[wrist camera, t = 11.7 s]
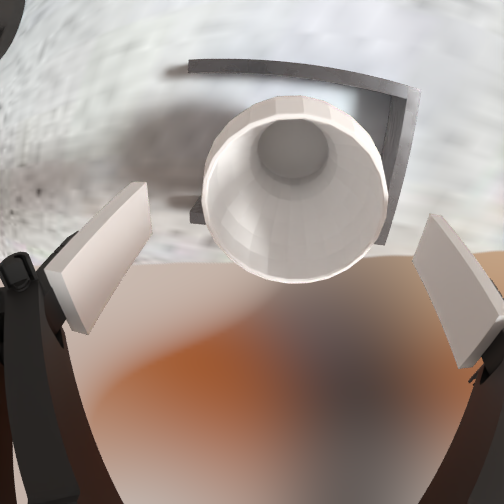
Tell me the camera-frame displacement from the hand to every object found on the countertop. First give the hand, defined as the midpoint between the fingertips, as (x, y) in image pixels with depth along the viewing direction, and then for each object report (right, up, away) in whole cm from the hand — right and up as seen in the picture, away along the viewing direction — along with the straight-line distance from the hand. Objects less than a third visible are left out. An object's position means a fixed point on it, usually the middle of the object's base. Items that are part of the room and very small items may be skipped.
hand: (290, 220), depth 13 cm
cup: (+2, +9, +14) cm, 17 cm away
